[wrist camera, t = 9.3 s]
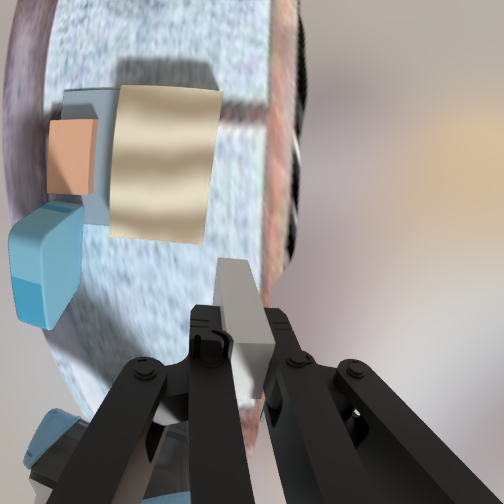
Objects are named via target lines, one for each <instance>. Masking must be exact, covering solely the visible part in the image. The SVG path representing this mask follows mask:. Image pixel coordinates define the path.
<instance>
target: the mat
mask: <svg viewBox="0 0 504 504" xmlns="http://www.w3.org/2000/svg"><path fill="white" fill-rule="evenodd" d="M119 95H120V90H85V91H69V92H64V96H63V103H62V111H61V120H72V119H99V122H98V131H97V142H96V153H95V168H94V192H93V193H91V194H89V195H72V194H57V200H59V201H64V202H69V203H74V204H79V205H82V206H83V208H84V220H83V224H90V225H103V226H109V217H110V183H111V166H112V153H113V142H114V132H115V124H116V116H117V108H118V101H119Z"/></svg>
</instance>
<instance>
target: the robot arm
mask: <svg viewBox="0 0 504 504" xmlns="http://www.w3.org/2000/svg"><path fill="white" fill-rule="evenodd" d="M263 389H264V393H265V397H266V399H265V403H264V406H263V409H262V413H261V416H260V422H263V420H264V417H265V418H266V422H267V426H268V430H269V435H270V439H271V443H272V447H273V451H274V455H275V459H276V464H277V468H278V472H279V476H280V480H281V483H282V488H283V491H284V496H285V499H286V503H287V504H503V503H502V502H501V501H500V500H499V499H498V498H497V497H496V496H495V495H494V494H493V493H492V492H491V491H490V490H489V489H488V488H487V487H486V486H485V485H484V483H483V482H481V480H480V479H479V478H478V477H477V476H476V475H475V474H474V473H473V472H472V471H471V470H470V469H469V468H468V467H467V466H466V465H465V464H464V463H463V462H462V461H461V460H460V459H459V458H458V457H457V456H456V455H455V454H454V453H453V452H452V451H451V450H450V449H449V448H448V446H446V445H445V443H444V442H443V441H442V440H441V439H440V438H439V437H438V436H437V435H436V434H435V433H434V432H433V431H432V430H431V429H430V428H429V427H428V426H427V425H426V424H425V423H424V422H423V421H422V420H421V419H420V418H419V417H418V416H417V415H416V414H415V413H414V412H413V411H412V410H411V409H410V408H409V407H408V406H407V405H406V404H405V402H404V401H403V400H402V399H401V398H400V397H399V396H398V395H397V394H396V393H395V392H394V391H393V390H392V389H391V388H390V387H389V386H388V385H387V384H386V383H385V382H384V381H383V380H382V379H381V378H380V377H379V376H378V375H377V374H376V373H375V372H374V371H373V370H372V369H371V368H370V367H369V366H368V365H367V364H365V363H364V362H361V361H359V360H355V359H346V360H343V361H341V362H340V364H339V365H338V367H337V368H333V367H327V366H322V365H318V364H316V362H315V360H314V358H313V357H312V356H311V355H310V354H308V353H307V352H305V351H302V350H301V347H300V345H299V343H298V341H297V338H296V336H295V334H294V331H293V330H292V327H291V324H290V322H289V320H288V318H287V316H286V314H285V313H283V312H282V311H281V310H280V309H279V308H263V305H262V302H261V299H260V296H259V293H258V290H257V287H256V284H255V281H254V278H253V275H252V272H251V269H250V266H249V263H248V260H242V259H230V258H218V260H217V269H216V278H215V287H214V296H213V306H210V305H195V306H194V308H193V309H192V310H191V315H190V334H189V353H188V355H187V357H186V358H185V359H184V360H183V361H181V362H179V363H177V364H173V365H168V366H164V365H163V364H162V363H161V362H160V361H159V360H156V359H154V358H150V357H139V358H135V359H133V360H130V361H129V362H128V363H127V364H126V365H125V366H124V368H123V370H122V371H121V373H120V374H119V376H118V378H117V379H116V381H115V382H114V384H113V386H112V387H111V389H110V391H109V392H108V394H107V396H106V397H105V399H104V400H103V402H102V404H101V405H100V407H99V409H98V410H97V412H96V414H95V416H94V417H93V419H92V421H91V422H90V423H89V422H87V421H85V420H83V419H81V417H79V416H78V417H77V416H74V415H72V414H70V413H68V412H65V411H64V410H61V409H58V408H55V409H52V410H50V411H49V412H48V413H47V414H46V416H45V417H44V419H43V420H42V422H41V423H40V425H39V427H38V429H37V430H36V432H35V434H34V436H33V438H32V440H31V442H30V445H29V447H28V450H27V452H26V454H25V456H24V460H23V463H24V465H25V466H26V467H27V469H31V473H30V477H29V481H30V483H31V485H32V487H33V489H34V490H35V493H36V498H35V503H34V504H255V501H254V496H253V491H252V485H251V480H250V474H249V469H248V463H247V458H246V452H245V447H244V441H243V435H242V429H241V423H240V417H239V411H238V404H237V399H261V396H262V393H263ZM355 409H356V410H357V411H358V412H359V413H360V416H359V415H357V414H356V413H355V412H354V411H355Z"/></svg>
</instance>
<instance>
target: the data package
mask: <svg viewBox="0 0 504 504" xmlns="http://www.w3.org/2000/svg"><path fill="white" fill-rule="evenodd" d="M83 220H84V208H83V206H82V205H79V204H74V203H69V202H64V201H59V200H51V201H49V202H48V203H46V204H45V205H43V206H41V207H40V208H38V209H37V210H35V211H34V212H32V213H30V214H29V215H27V216H26V217H24V218H23V219H21V220H20V221H19V222H17V223H16V224H14V226H13V227H12V229H11V231H10V233H9V238H8V250H9V262H10V272H11V280H12V287H13V294H14V301H15V307H16V312H17V316H18V319H19V320H20V321H23V322H25V323H28V324H31V325H34V326H37V327H40V328H43V329H47V330H52V329H53V328H54V327H55V325H56V323H57V321H58V320H59V318H60V316H61V315H62V313H63V311H64V310H65V308H66V306H67V305H68V303H69V301H70V300H71V298H72V297H73V295H74V293H75V292H76V290H77V289H78V287H79V284H80V280H81V257H82V234H83Z"/></svg>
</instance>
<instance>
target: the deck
mask: <svg viewBox="0 0 504 504" xmlns="http://www.w3.org/2000/svg"><path fill="white" fill-rule="evenodd" d="M223 92H224V91H216V90H207V89H197V88H185V87H171V86H150V85H121V89H120V95H119V101H118V108H117V116H116V124H115V132H114V142H113V153H112V166H111V183H110V217H109V236H110V237H121V238H132V239H144V240H155V241H166V242H178V243H189V244H200V245H203V241H204V231H205V222H206V213H207V204H208V196H209V188H210V180H211V172H212V165H213V157H214V150H215V143H216V136H217V130H218V123H219V117H220V110H221V104H222V98H223Z"/></svg>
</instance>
